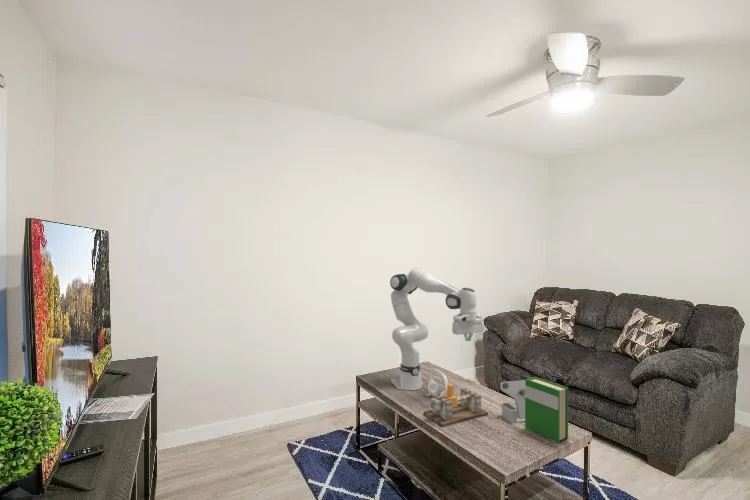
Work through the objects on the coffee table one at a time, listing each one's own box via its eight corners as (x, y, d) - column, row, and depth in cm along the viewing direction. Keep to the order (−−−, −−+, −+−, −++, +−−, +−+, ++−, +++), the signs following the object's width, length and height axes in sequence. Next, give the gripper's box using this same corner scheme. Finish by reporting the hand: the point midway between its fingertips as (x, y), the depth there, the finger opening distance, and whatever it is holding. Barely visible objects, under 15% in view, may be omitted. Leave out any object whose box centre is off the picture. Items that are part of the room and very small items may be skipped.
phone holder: (510, 423, 196) (510, 388, 196) (499, 415, 206) (499, 381, 206) (540, 420, 200) (540, 385, 200) (528, 411, 210) (528, 378, 210)
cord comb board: (423, 414, 206) (423, 394, 206) (467, 404, 220) (467, 385, 220) (442, 427, 192) (442, 405, 192) (488, 414, 206) (488, 395, 206)
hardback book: (568, 439, 180) (568, 387, 180) (558, 443, 176) (558, 390, 176) (535, 424, 195) (535, 376, 195) (525, 427, 191) (525, 379, 191)
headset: (453, 407, 216) (453, 375, 216) (441, 408, 214) (441, 376, 214) (435, 394, 235) (435, 364, 235) (425, 395, 233) (425, 365, 232)
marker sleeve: (443, 404, 205) (443, 384, 205) (451, 403, 208) (451, 382, 208) (449, 408, 201) (449, 387, 201) (457, 406, 203) (457, 385, 203)
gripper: (478, 314, 230) (478, 337, 230) (450, 317, 220) (450, 341, 221) (485, 315, 224) (485, 339, 224) (457, 319, 215) (457, 344, 215)
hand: (468, 340), depth 222 cm, fingers closed
